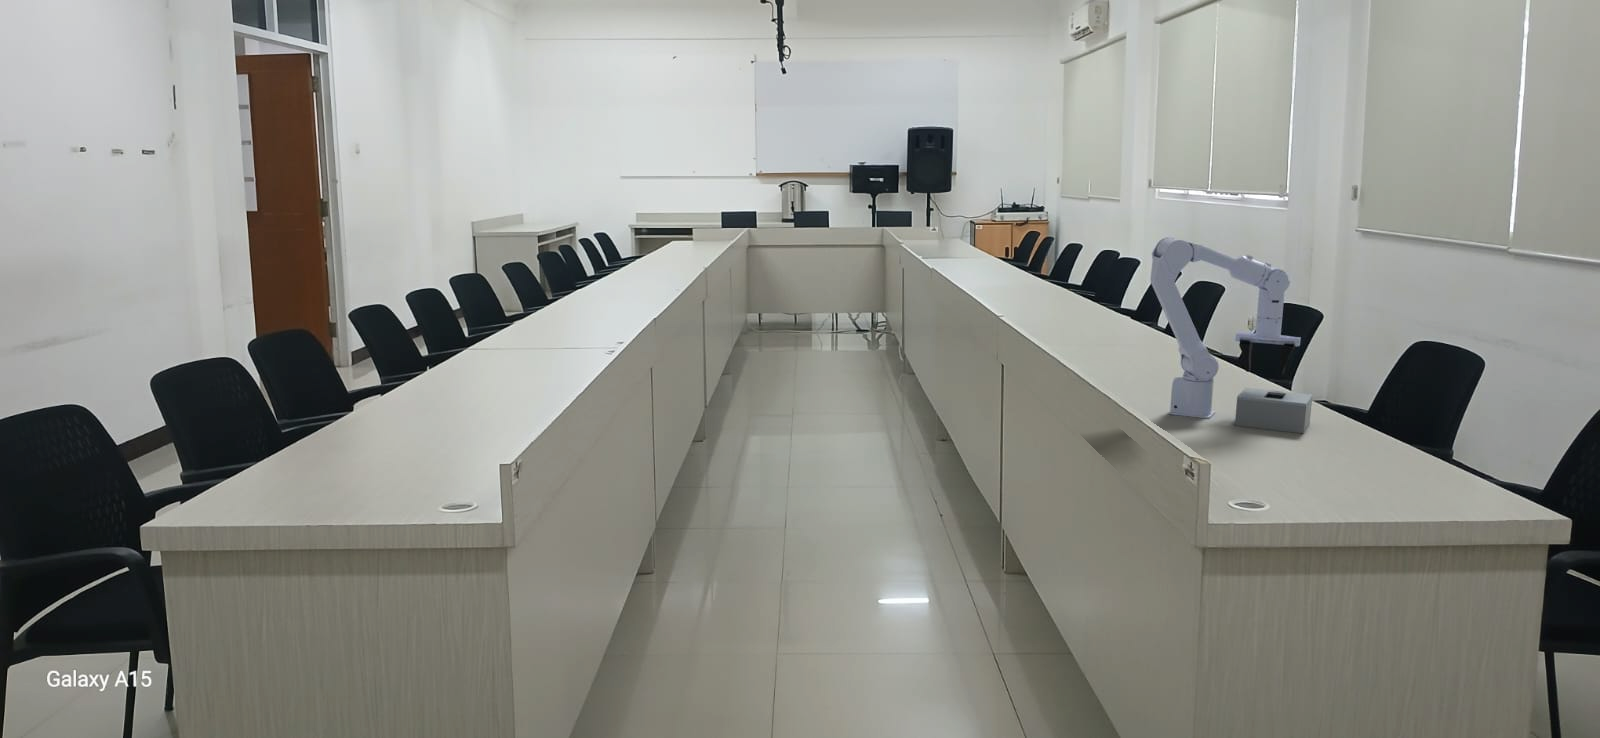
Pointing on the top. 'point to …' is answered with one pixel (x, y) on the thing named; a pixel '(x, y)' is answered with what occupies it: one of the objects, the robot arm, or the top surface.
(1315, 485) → the top surface
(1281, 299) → the robot arm
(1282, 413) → the ballot box
